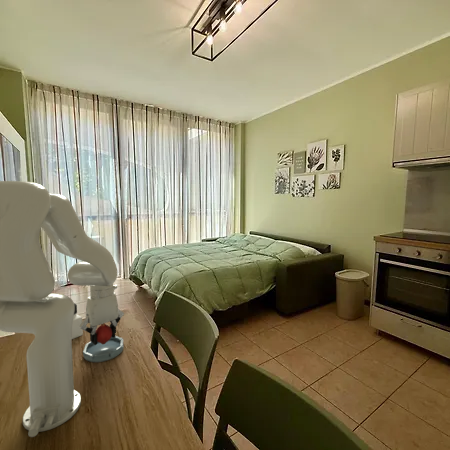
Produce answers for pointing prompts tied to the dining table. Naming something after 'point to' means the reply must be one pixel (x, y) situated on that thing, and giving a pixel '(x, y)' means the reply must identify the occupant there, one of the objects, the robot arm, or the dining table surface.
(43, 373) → the robot arm
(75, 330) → the container
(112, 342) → the dish
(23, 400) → the dining table surface
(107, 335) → the onion
